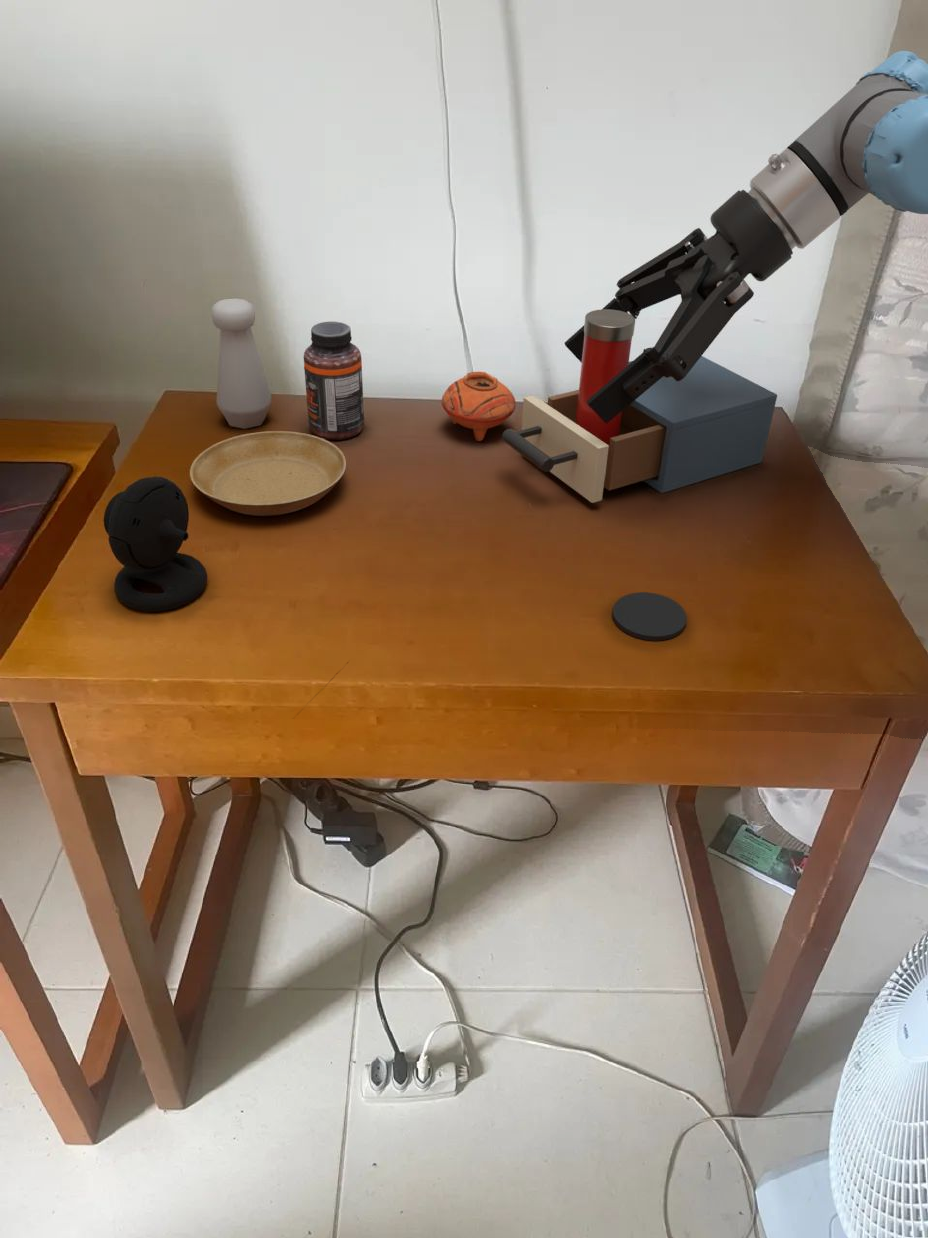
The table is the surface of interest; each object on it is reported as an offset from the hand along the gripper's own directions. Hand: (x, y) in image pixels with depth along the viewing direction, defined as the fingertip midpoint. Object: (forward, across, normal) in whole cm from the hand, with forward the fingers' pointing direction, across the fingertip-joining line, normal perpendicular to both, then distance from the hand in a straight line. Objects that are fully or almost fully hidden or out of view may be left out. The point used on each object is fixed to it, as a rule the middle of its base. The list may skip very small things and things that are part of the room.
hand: (583, 381), depth 94 cm
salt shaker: (+31, -12, -17) cm, 38 cm away
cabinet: (-1, -4, +15) cm, 15 cm away
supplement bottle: (+24, -10, -10) cm, 28 cm away
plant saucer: (+28, +3, -14) cm, 32 cm away
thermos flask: (+4, 0, +7) cm, 8 cm away
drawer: (+5, 0, +7) cm, 9 cm away
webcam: (+34, +19, -20) cm, 44 cm away
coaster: (+5, +25, +8) cm, 27 cm away
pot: (+14, -9, 0) cm, 16 cm away
